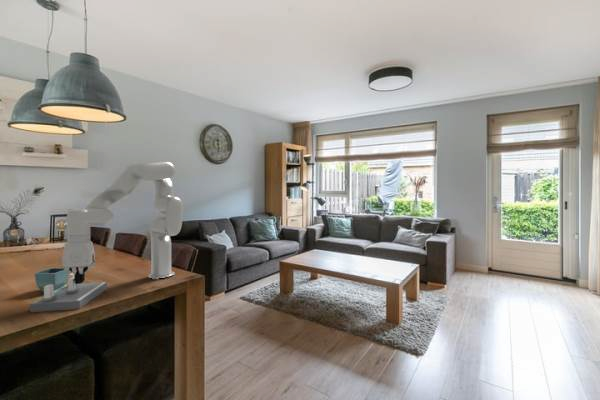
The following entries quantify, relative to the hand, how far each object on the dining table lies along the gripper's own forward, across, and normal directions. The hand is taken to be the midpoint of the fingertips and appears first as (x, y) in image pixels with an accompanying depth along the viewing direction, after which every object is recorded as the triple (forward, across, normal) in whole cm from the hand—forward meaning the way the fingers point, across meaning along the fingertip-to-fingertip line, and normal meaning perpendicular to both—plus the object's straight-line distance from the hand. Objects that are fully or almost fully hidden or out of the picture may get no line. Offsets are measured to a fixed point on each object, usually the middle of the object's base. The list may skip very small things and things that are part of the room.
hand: (79, 282), depth 118 cm
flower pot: (+7, -17, +14) cm, 23 cm away
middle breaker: (+3, -3, 0) cm, 4 cm away
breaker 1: (+3, -7, -8) cm, 11 cm away
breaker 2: (+3, -6, +8) cm, 11 cm away
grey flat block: (+7, -2, 0) cm, 7 cm away
